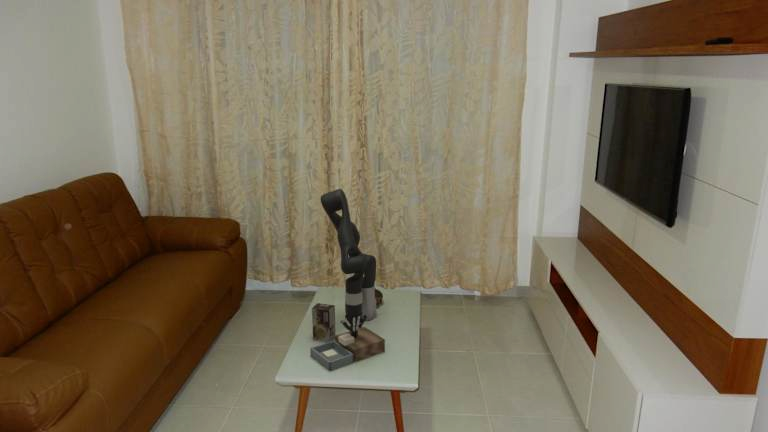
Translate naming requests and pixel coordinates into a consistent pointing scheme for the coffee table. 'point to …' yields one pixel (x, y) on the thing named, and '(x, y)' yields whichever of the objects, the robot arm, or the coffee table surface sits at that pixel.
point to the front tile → (330, 355)
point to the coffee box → (323, 322)
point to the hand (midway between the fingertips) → (354, 337)
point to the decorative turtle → (378, 296)
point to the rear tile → (346, 339)
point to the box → (343, 359)
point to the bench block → (364, 344)
